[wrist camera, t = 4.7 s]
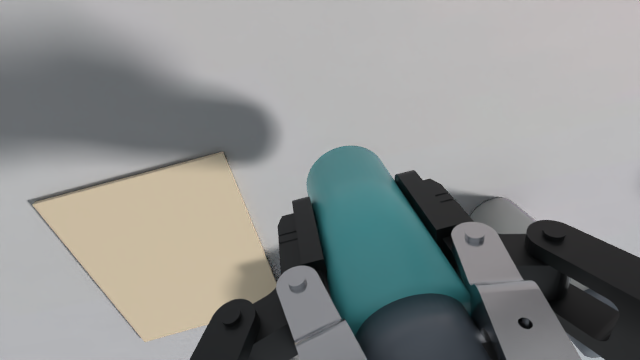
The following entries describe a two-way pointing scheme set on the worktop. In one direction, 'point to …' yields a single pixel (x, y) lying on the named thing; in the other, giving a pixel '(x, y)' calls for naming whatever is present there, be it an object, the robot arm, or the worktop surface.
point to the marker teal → (387, 265)
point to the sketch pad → (165, 243)
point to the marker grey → (516, 221)
